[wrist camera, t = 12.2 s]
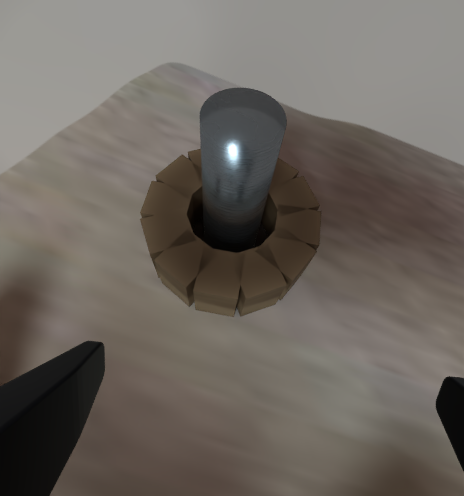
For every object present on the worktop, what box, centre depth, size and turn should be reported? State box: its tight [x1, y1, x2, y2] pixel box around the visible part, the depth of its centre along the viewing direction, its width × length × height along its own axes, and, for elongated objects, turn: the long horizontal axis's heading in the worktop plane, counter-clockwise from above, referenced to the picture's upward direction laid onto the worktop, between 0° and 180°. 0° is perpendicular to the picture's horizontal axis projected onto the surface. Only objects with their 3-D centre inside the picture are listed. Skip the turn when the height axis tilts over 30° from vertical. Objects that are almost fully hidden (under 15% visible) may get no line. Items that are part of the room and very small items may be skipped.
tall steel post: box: [200, 88, 287, 253], centre depth 20 cm, size 4×4×12 cm
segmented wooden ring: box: [140, 149, 321, 317], centre depth 24 cm, size 12×12×4 cm
